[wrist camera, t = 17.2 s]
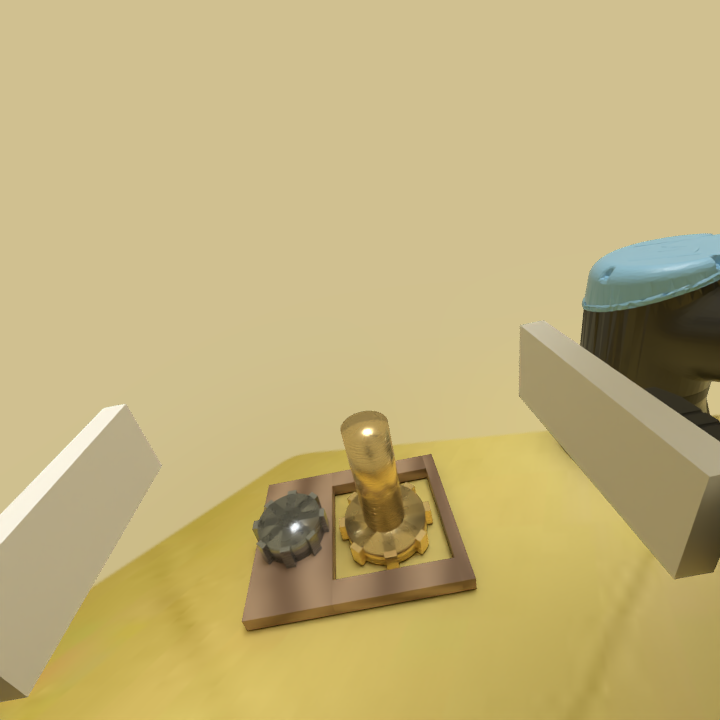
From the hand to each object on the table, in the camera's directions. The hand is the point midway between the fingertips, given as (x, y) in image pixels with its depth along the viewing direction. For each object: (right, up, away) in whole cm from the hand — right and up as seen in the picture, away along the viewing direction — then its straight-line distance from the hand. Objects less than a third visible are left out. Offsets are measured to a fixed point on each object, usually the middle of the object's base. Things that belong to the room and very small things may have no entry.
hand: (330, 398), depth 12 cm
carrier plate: (+1, -17, +28) cm, 33 cm away
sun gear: (-6, -17, +27) cm, 33 cm away
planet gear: (+4, -17, +28) cm, 33 cm away
